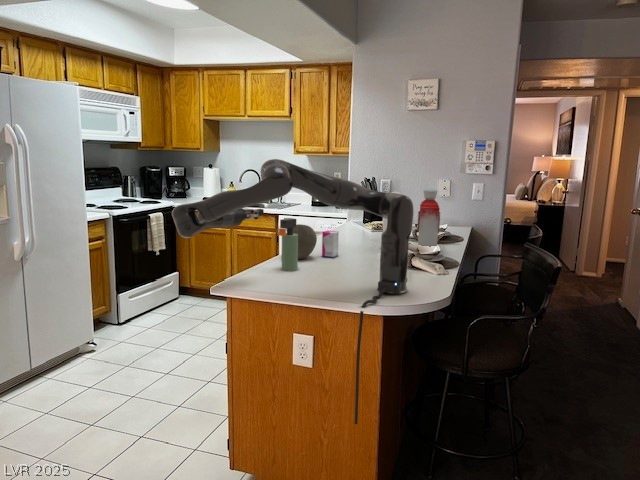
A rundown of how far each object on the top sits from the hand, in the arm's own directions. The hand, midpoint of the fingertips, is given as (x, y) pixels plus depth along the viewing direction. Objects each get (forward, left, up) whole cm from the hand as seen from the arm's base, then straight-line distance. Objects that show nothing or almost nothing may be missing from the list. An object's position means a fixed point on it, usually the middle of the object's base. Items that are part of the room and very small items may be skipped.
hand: (262, 211), depth 178 cm
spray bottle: (+15, -5, -24) cm, 29 cm away
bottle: (+72, -53, -25) cm, 93 cm away
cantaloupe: (+35, -2, -25) cm, 43 cm away
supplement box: (+44, -13, -25) cm, 52 cm away
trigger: (+11, -4, -10) cm, 15 cm away
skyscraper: (+72, -35, -25) cm, 84 cm away
